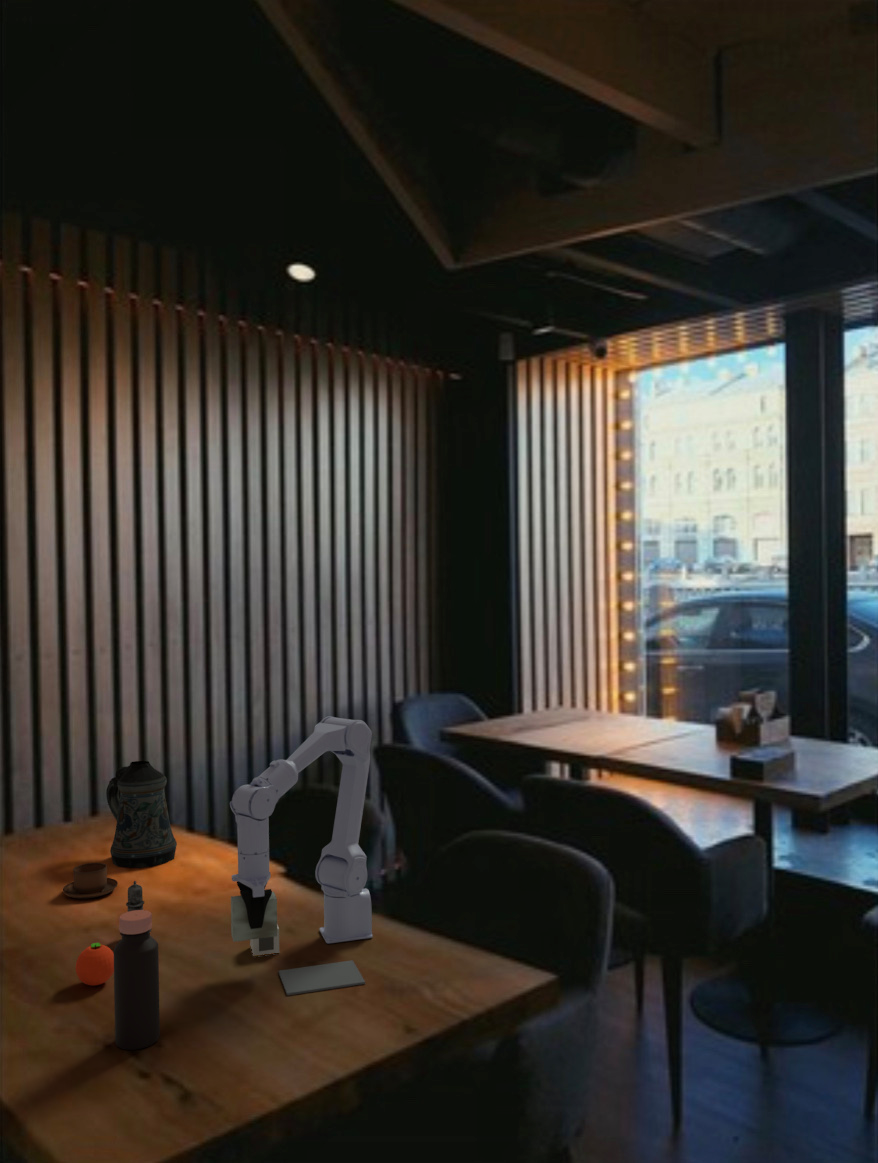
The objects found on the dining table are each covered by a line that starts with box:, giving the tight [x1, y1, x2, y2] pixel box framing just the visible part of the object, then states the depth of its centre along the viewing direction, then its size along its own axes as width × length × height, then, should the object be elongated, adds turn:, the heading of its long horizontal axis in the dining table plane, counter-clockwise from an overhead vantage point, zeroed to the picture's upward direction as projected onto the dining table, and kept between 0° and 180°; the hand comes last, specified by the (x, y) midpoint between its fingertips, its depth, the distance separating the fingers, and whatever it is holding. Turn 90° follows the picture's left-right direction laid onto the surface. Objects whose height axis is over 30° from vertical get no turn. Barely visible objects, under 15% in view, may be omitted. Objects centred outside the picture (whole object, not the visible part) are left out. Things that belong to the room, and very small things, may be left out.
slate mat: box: [278, 960, 366, 996], centre depth 174 cm, size 14×10×1 cm
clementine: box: [75, 942, 114, 987], centre depth 173 cm, size 8×7×7 cm
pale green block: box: [230, 891, 278, 943], centre depth 177 cm, size 8×4×7 cm, turn 108°
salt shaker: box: [125, 880, 145, 912], centre depth 193 cm, size 6×6×12 cm
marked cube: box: [249, 923, 280, 957], centre depth 187 cm, size 5×5×5 cm
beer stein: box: [105, 760, 178, 869], centre depth 248 cm, size 16×19×25 cm
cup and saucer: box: [62, 862, 119, 899], centre depth 222 cm, size 12×12×6 cm
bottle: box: [113, 909, 161, 1051], centre depth 152 cm, size 7×7×20 cm
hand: (254, 923), depth 177 cm, fingers closed on pale green block, 4 cm apart
